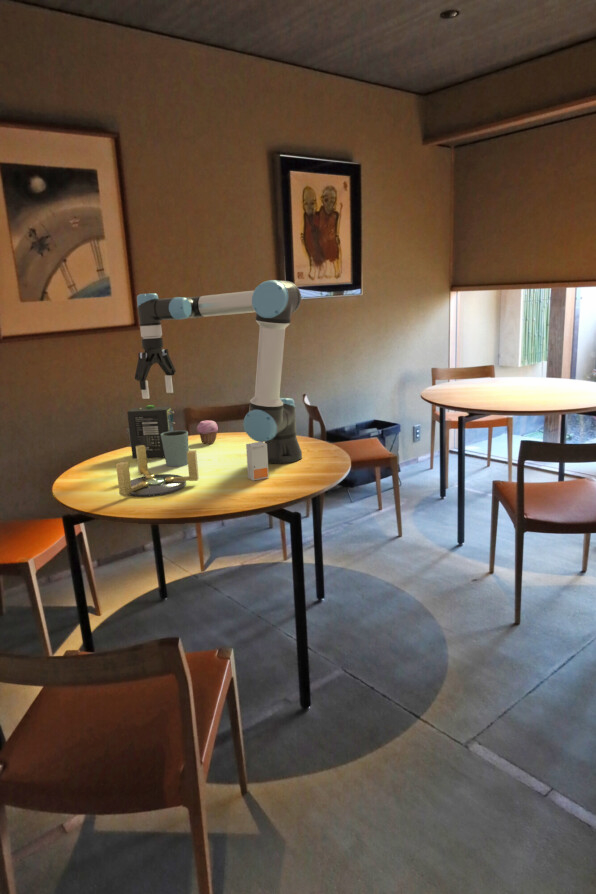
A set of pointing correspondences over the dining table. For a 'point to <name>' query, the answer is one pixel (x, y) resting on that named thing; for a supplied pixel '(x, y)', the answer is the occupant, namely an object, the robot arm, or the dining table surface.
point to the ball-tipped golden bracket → (127, 479)
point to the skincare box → (257, 461)
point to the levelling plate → (157, 486)
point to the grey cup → (175, 447)
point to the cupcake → (207, 431)
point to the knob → (143, 462)
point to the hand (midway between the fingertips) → (158, 395)
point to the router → (149, 429)
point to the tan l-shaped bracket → (191, 467)
